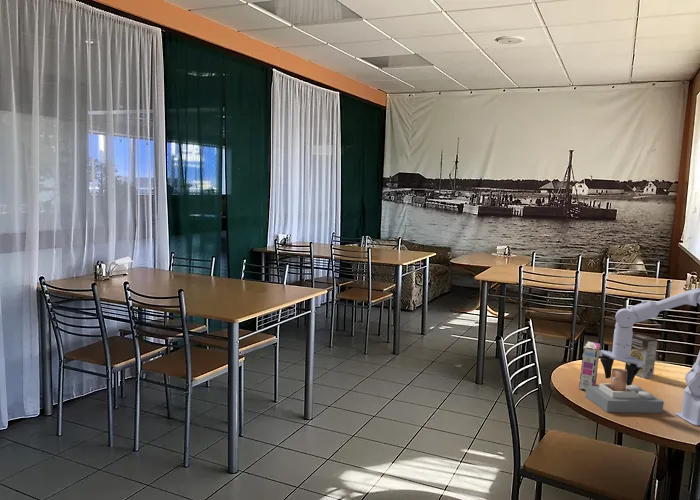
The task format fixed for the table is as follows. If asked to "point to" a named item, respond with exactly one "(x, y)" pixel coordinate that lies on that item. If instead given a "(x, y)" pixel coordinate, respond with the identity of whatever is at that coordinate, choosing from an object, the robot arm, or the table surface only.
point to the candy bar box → (589, 365)
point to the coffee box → (644, 354)
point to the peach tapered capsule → (618, 380)
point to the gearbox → (624, 399)
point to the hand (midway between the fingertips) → (618, 381)
